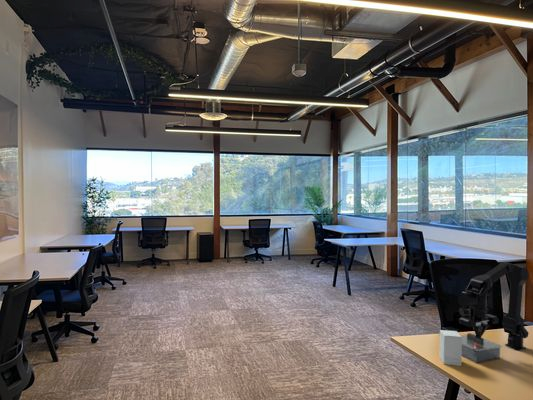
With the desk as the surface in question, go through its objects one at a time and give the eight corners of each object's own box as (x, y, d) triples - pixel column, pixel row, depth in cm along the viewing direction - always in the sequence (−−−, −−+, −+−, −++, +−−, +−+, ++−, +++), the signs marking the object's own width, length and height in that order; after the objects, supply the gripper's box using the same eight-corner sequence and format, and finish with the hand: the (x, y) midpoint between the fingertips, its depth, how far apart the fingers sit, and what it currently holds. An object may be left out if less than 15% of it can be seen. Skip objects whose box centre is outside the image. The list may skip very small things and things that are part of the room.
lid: (473, 335, 178) (473, 329, 178) (501, 347, 165) (501, 340, 165) (450, 339, 173) (450, 332, 173) (477, 351, 160) (477, 344, 160)
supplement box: (461, 366, 157) (462, 337, 157) (443, 364, 158) (443, 335, 158) (456, 358, 164) (457, 330, 164) (438, 357, 166) (439, 329, 165)
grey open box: (472, 346, 178) (472, 336, 178) (499, 358, 165) (499, 347, 165) (450, 350, 173) (450, 339, 173) (476, 363, 160) (477, 351, 160)
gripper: (478, 299, 180) (477, 330, 180) (449, 302, 174) (449, 334, 174) (500, 305, 170) (499, 338, 170) (470, 309, 163) (469, 343, 164)
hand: (478, 338), depth 170 cm, fingers closed
